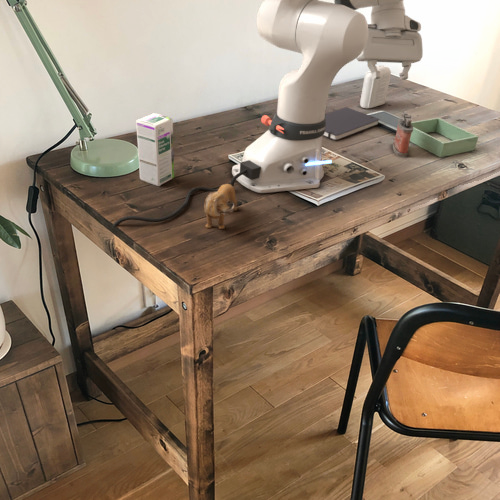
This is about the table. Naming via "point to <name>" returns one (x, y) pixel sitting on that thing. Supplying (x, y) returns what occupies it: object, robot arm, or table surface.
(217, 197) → the tan animal figure
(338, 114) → the notebook
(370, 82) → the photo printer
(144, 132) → the syrup box
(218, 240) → the table surface
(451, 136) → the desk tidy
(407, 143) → the lighter
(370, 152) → the table surface
